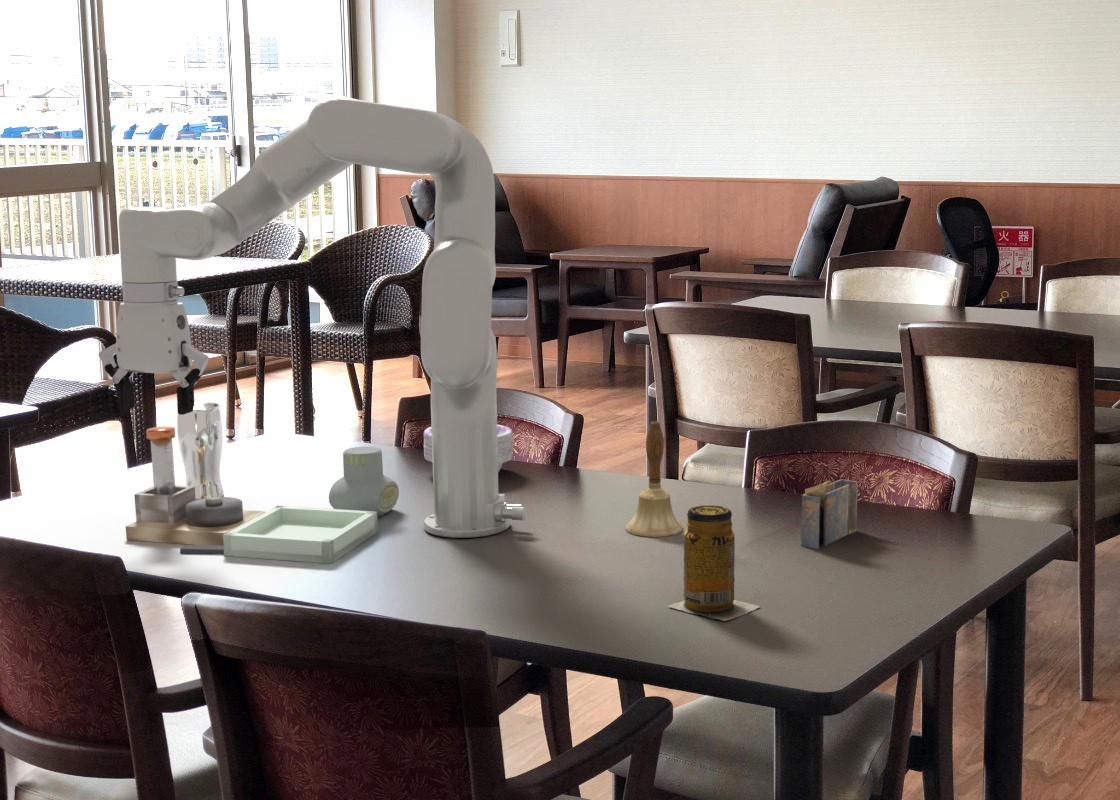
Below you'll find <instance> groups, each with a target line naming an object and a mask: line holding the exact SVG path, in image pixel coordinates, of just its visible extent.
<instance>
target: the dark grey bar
mask: <svg viewBox="0 0 1120 800" xmlns="http://www.w3.org/2000/svg"><path fill="white" fill-rule="evenodd" d="M179 552H180V554H205V555H206V554H211V555H213V554H214V555H215V554H219V555H222V554H223V555H224V545H193V544H184V545H183V546H182V547H181V548H179Z"/></svg>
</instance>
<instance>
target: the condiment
mask: <svg viewBox="0 0 1120 800" xmlns="http://www.w3.org/2000/svg"><path fill="white" fill-rule="evenodd" d="M686 515H687V522H686V526H687V528H686V530H685V532H684V535H683V599H684V600H682V601H679V602H675V603H671V604H670V605H668V606H667V607H668V608H672V609H675V610H679V611H683V612H685V613H690V614H692V615H693V614H694V615H699V616H700V615H701V616H702V617H708V618H710V619H715V620H720V621H723V622H726V621H731V620H733V619H735V618H739V617H742V616H744V615H747V614H748V613H750V612H753V611H755V610H757V609H758V608H761V606H759V605H757V604H754V603H753V604H751V603H749V602H745V601H741V600H736V599H735V555H736V553H735V550H736V549H735V547H736V545H735V544H736V543H735V539H736V538H735V533H734V531H733V530H732V529H733V523H732V516H733V514H732V511H731V510H730V509H729V508H727V507H725V506H721V505H709V504H706V505H703V504H702V505H697V506H693V507H690V509H688V511H687V513H686Z"/></svg>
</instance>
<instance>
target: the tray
mask: <svg viewBox="0 0 1120 800" xmlns="http://www.w3.org/2000/svg"><path fill="white" fill-rule="evenodd" d="M378 524H379V523H378V517H377V512H374V511H358V510H341V509H334V508H322V507H321V508H320V507H309V506H307V507H306V506H305V507H304V506H289V505H288V506H287V505H276V506H275V507H272V508H271V509H268V510H267V511H266V512H265V513H263V514H261V515H259V516H257V517H255V518H253V519H252V520H250V521H248V522H246V523H244V524H242V525H240V526H239V527H237V528H235V529H233V530H231V531H229V532H227V533H225V534H224V535H223V544H224V554H223V556H224V557H235V558H250V559H263V560H278V561H287V562H288V561H292V562H303V563H304V562H306V563H318V564H319V563H320V564H332V563H333V562H335V561H337V560H338V559H340V558H341V557H342V556H344V555H345V554H347V553H348V552H350V551H351V550H353V549H354V548H356V547H357V546H359V545H360V544H362V543H363V542H365V541H366V540H367V539H369V538H371V537H372V536H374V535H375V534H377V533H378V531H379V528H378V527H379V526H378Z"/></svg>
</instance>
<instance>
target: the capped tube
mask: <svg viewBox="0 0 1120 800" xmlns="http://www.w3.org/2000/svg"><path fill="white" fill-rule="evenodd" d="M145 433H146V439H147V440H150V451H151V452H150V453H151V463H152V465H151V466H152V476H153V477H152V478H153V486H154V494H159V495H172V494H174V493H176V490H175V486H176V479H175V478H176V477H175V464H174V451H173V450H174V448H173V439H174V438H176V429H175V427H174V426H155V427H149V428H147V429H146V432H145Z"/></svg>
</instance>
